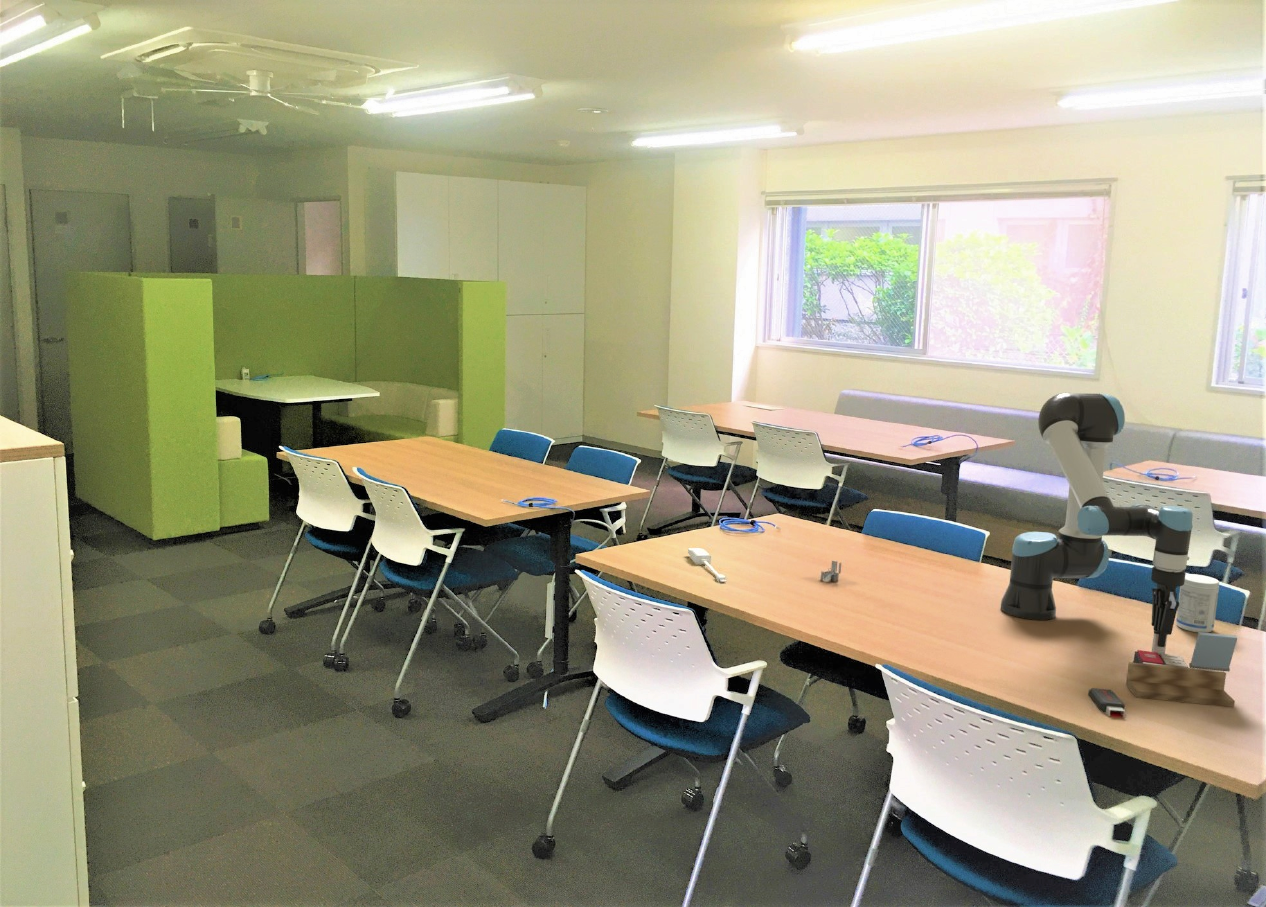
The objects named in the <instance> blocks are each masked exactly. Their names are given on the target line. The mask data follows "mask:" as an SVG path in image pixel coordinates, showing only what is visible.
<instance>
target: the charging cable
mask: <svg viewBox="0 0 1266 907" xmlns="http://www.w3.org/2000/svg"><path fill="white" fill-rule="evenodd" d="M687 554H688V555H689V558H690V559H691V560H692V562H693V563H694V564H695V565H696V566H697V565H705V566H706V567H707V568H708V569H709V570H710V571H711V572H712V573H713V574H714V575H715V580H716V581H717V582H719V583H720V582H721V583H726V582H727V577H726V576H725V575H724V574H721V573H720V574H719V573H718V571H716V570H715V569H714V567H713V566H712V565H711V564H712V563H711V562H712V556H711V555H710V554H709V552H707V550H705V549H703V548H701V547H695V548H693V547H689V548H687Z"/></svg>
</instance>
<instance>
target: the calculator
mask: <svg viewBox="0 0 1266 907" xmlns="http://www.w3.org/2000/svg"><path fill="white" fill-rule="evenodd" d="M1133 663H1144V664H1154V665H1164V666H1175V667H1185V668H1189V665H1187V663H1186V662H1185V660H1184V658H1183V657H1182V656H1181V655H1177V654H1170V653H1165V654H1164V653H1160V655H1159V654H1158V653H1156V652H1152V651H1148V650H1140V649H1137V651H1136V650H1135V651H1134V656H1133Z"/></svg>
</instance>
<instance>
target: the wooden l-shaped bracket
mask: <svg viewBox="0 0 1266 907" xmlns="http://www.w3.org/2000/svg"><path fill="white" fill-rule="evenodd" d="M1226 678H1227V673H1226V671H1217V670H1207V669H1197V668H1190V667H1188V668H1185V667H1175V666H1164V665H1154V664H1144V663H1134V661H1133V662H1132V661H1131V662H1130V661H1128V667H1127V674H1126V680H1125V682H1126V683H1125V685H1126V686H1127V688H1128V689H1129V690H1130V691H1131V692H1132V694H1133V696H1135V697H1136V698H1141V699H1151V700H1161V701H1172V702H1180V703H1181V702H1182V703H1190V704H1191V703H1192V704H1199V705H1209V706H1219V707H1228V708H1229V707H1230V708H1235V702H1236V701H1235V699H1233V697H1232V696H1231V695H1230V694H1228V693H1227V692H1226V691H1225V687H1226V686H1225V685H1226Z"/></svg>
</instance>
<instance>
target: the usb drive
mask: <svg viewBox="0 0 1266 907" xmlns="http://www.w3.org/2000/svg"><path fill="white" fill-rule="evenodd" d="M1087 696H1088V697H1089V699H1091V701H1092V702H1093V703H1094V705H1095V706H1096V708H1098V710H1099V711H1101V712H1102V713H1104V714H1106V715H1107V716H1108V717H1111V718H1112V717H1113V718H1121V719H1123V718H1125V717H1126V715H1125V714H1126V710H1125V707H1126V706H1125V704H1124V703H1123V701H1122V700H1121V699H1120V697H1118V695H1117V694H1116V693H1115V692H1114V691H1113V690H1112V689H1109V688H1098V687H1097V688H1095V687H1092V688H1089V690H1088V694H1087Z"/></svg>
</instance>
